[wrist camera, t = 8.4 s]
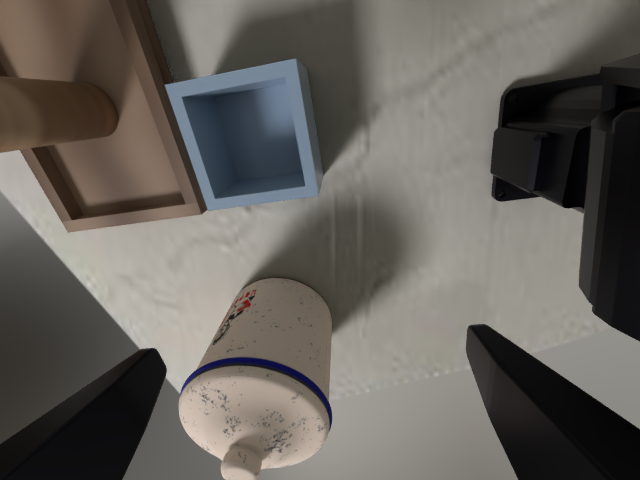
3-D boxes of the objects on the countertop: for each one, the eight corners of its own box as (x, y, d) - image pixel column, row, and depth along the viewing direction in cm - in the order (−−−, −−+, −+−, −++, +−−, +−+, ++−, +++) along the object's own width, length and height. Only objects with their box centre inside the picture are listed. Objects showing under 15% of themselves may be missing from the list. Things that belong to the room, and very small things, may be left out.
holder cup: (307, 69, 16) (295, 58, 12) (323, 175, 19) (318, 195, 15) (206, 88, 17) (164, 84, 13) (235, 188, 20) (208, 210, 16)
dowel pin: (103, 78, 16) (-183, 50, 7) (126, 133, 18) (-95, 165, 9) (58, 87, 17) (-267, 71, 8) (84, 140, 18) (-170, 179, 9)
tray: (127, -56, 15) (96, -78, 13) (213, 204, 20) (201, 214, 19) (-35, -12, 16) (-83, -26, 14) (90, 221, 22) (67, 232, 20)
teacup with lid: (241, 258, 22) (152, 397, 12) (350, 292, 23) (358, 452, 13) (217, 360, 28) (140, 519, 17) (307, 386, 28) (286, 553, 18)
